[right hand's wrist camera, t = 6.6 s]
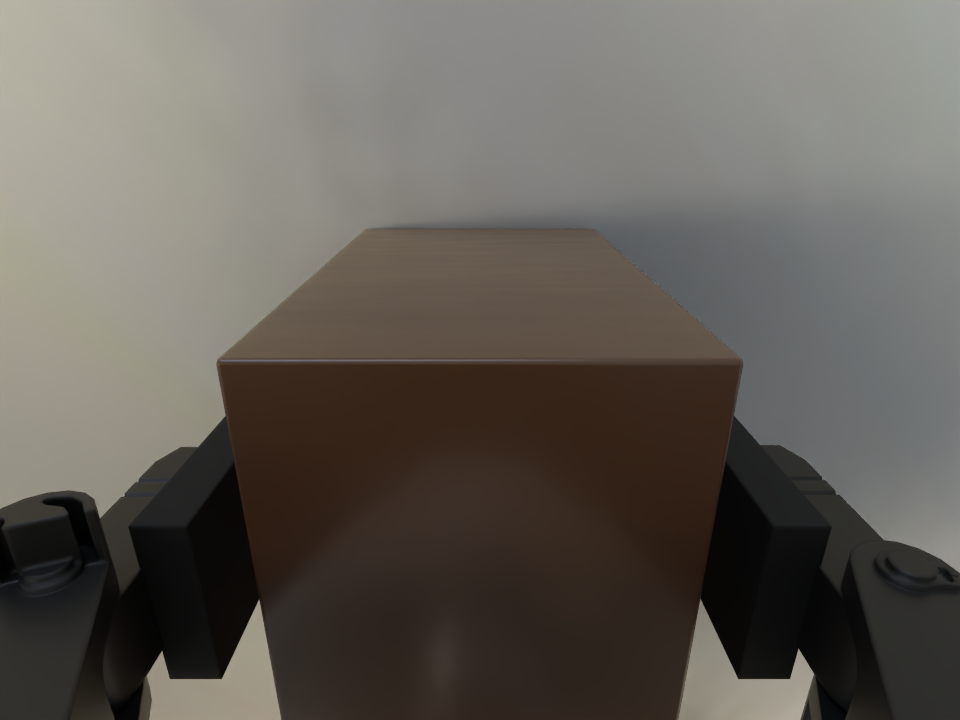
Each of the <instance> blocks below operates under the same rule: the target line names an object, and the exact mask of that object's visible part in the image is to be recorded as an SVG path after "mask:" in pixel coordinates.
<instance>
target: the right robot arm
mask: <svg viewBox="0 0 960 720" xmlns="http://www.w3.org/2000/svg"><path fill="white" fill-rule="evenodd" d="M700 598H701V600H702V602H703V605H704V607H705V609H706V611H707V613H708V615H709V617H710V620H711V622H712V624H713V626H714V628H715V630H716V632H717V634H718V637H719V639H720V641H721V643H722V645H723V647H724V649H725V651H726V654H727V656H728V658H729V660H730V662H731V664H732V666H733V668H734V671H735V673H736V675H737V677H738V679H790V677H791V673H792V670H793V666H794V662H795V659H796V655H797V651H798V648H799V650H800V651H801V653H802V655H803V656H804V658H805V659H806V661H807V663H808V664H809V666H810V668H811V669H812V671H813V673H814V676H813V680H812V683H811V686H810V690H809V693H808V696H807V700H806V703H805V707H804V710H803V713H802V717H801V720H960V573H959V572H957V571H956V570H955V569H953V568H952V567H950V566H949V565H948V564H946V563H945V562H944V561H942V560H941V559H939V558H937V557H935V556H933V555H931V554H929V553H927V552H925V551H923V550H921V549H918V548H915V547H912V546H908V545H905V544H902V543H899V542H894V541H885V540H883V539H882V538H881V537H880V536H879V535H878V534H877V533H876V532H875V531H874V530H873V529H872V528H871V527H870V526H869V525H868V524H867V523H866V522H865V521H864V520H863V519H862V518H861V517H860V516H859V514H858V513H857V512H856V511H855V510H854V509H853V508H852V507H851V506H850V505H849V504H848V503H847V502H846V501H845V500H844V499H843V498H842V497H841V496H840V495H836V491H835V490H834V489H833V488H832V487H831V486H830V485H829V484H828V483H827V482H826V481H825V480H822V477H821V476H820V475H819V474H818V473H817V472H816V471H815V470H814V469H813V468H812V467H811V466H810V465H809V464H808V463H807V462H806V460H804V459H803V458H801V457H799V456H797V455H796V454H794V453H792V452H790V451H789V450H787V449H785V448H783V447H782V446H780V445H759V443H758V442H757V441H756V440H755V439H754V438H753V437H752V436H751V434H750V433H749V432H748V431H747V430H746V429H745V428H744V427H743V425H742V424H741V423H740V422H739V421H738V420H737V419H736V418H735V416H734V417H733V422H732V427H731V433H730V438H729V444H728V449H727V455H726V460H725V466H724V471H723V477H722V482H721V488H720V493H719V499H718V504H717V510H716V515H715V521H714V526H713V532H712V537H711V542H710V548H709V553H708V559H707V564H706V570H705V575H704V581H703V586H702V592H701V597H700ZM258 600H259V594H258V588H257V583H256V577H255V572H254V566H253V561H252V555H251V550H250V545H249V539H248V534H247V528H246V523H245V517H244V512H243V506H242V501H241V495H240V490H239V484H238V479H237V474H236V468H235V463H234V457H233V452H232V446H231V441H230V435H229V430H228V424H227V419H226V416H225V418H224V419H223V420H222V421H221V422H220V423H219V424H218V425H217V427H216V428H215V429H214V430H213V431H212V432H211V433H210V434H209V436H208V437H207V438H206V439H205V440H204V441H203V442H202V443H201V445H200V446H199V447H180V448H179V449H177V450H175V451H173V452H172V453H170V454H168V455H167V456H165V457H163V458H161V459H160V460H158V461H156V462H155V463H154V464H153V465H152V466H151V467H150V468H149V469H148V470H147V471H146V472H145V473H144V474H143V475H142V476H141V477H140V478H139V482H135V483H134V485H133V486H132V487H131V488H130V489H129V490H128V491H127V492H126V493H125V497H121V498H120V499H119V500H118V501H117V502H116V503H115V504H114V505H113V506H112V507H111V508H110V509H109V510H108V511H107V512H106V513H105V514H104V515H103V516H102V517H101V518H100V517H99V514H98V511H97V507H96V504H95V500H94V499H93V498H92V497H90V496H89V495H87V494H86V493H82V492H75V491H60V492H50V493H45V494H41V495H37V496H33V497H30V498H26V499H23V500H20V501H18V502H16V503H13V504H11V505H8V506H6V507H4V508H1V509H0V720H149V717H150V709H151V701H152V699H151V692H150V686H149V683H148V680H147V674H148V672H149V671H150V669H151V668H152V666H153V664H154V663H155V661H156V659H157V658H158V656H159V654H160V653H161V651H163V655H164V659H165V662H166V666H167V670H168V673H169V677H170V679H222V677H223V675H224V673H225V671H226V669H227V666H228V664H229V662H230V660H231V658H232V656H233V654H234V651H235V649H236V647H237V645H238V643H239V641H240V639H241V637H242V634H243V632H244V630H245V628H246V626H247V624H248V622H249V620H250V617H251V615H252V613H253V611H254V609H255V607H256V605H257V603H258Z"/></svg>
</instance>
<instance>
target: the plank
mask: <svg viewBox="0 0 960 720" xmlns="http://www.w3.org/2000/svg"><path fill="white" fill-rule="evenodd" d="M742 367H743V362H742V359H741V358H740V357H739V356H738V355H736V354H735V353H734V352H733V351H732V350H731V349H730V348H728V347H727V346H726V345H725V344H724V343H723V342H722V341H720V340H719V339H718V338H717V337H716V336H715V335H714V334H712V333H711V332H710V331H709V330H708V329H707V328H706V327H705V326H703V325H702V324H701V323H700V322H699V321H698V320H697V319H695V318H694V317H693V316H692V315H691V314H690V313H689V312H687V311H686V310H685V309H684V308H683V307H682V306H681V305H679V304H678V303H677V302H676V301H675V300H674V299H673V298H672V297H670V296H669V295H668V294H667V293H666V292H665V291H664V290H662V289H661V288H660V287H659V286H658V285H657V284H656V283H654V282H653V281H652V280H651V279H650V278H649V277H648V276H646V275H645V274H644V273H643V272H642V271H641V270H640V269H639V268H637V267H636V266H635V265H634V264H633V263H632V262H631V261H629V260H628V259H627V258H626V257H625V256H624V255H623V254H621V253H620V252H619V251H618V250H617V249H616V248H615V247H613V246H612V245H611V244H610V243H609V242H608V241H607V240H606V239H604V238H603V237H602V236H601V235H600V234H599V233H598V232H596V231H595V230H594V229H366V230H364V231H363V232H362V233H361V234H360V235H359V236H358V237H356V238H355V239H354V240H353V241H352V242H351V243H350V244H348V245H347V246H346V247H345V248H344V249H343V250H342V251H341V252H339V253H338V254H337V255H336V256H335V257H334V258H333V259H331V260H330V261H329V262H328V263H327V264H326V265H325V266H323V267H322V268H321V269H320V270H319V271H318V272H317V273H315V274H314V275H313V276H312V277H311V278H310V279H309V280H307V281H306V282H305V283H304V284H303V285H302V286H301V287H300V288H298V289H297V290H296V291H295V292H294V293H293V294H292V295H290V296H289V297H288V298H287V299H286V300H285V301H284V302H282V303H281V304H280V305H279V306H278V307H277V308H276V309H274V310H273V311H272V312H271V313H270V314H269V315H268V316H266V317H265V318H264V319H263V320H262V321H261V322H260V323H259V324H257V325H256V326H255V327H254V328H253V329H252V330H251V331H249V332H248V333H247V334H246V335H245V336H244V337H243V338H241V339H240V340H239V341H238V342H237V343H236V344H235V345H233V346H232V347H231V348H230V349H229V350H228V351H227V352H226V353H224V354H223V355H222V356H221V357H220V358H219V359H218V360H217V370H218V375H219V381H220V386H221V392H222V397H223V402H224V408H225V413H226V419H227V424H228V430H229V435H230V441H231V446H232V452H233V457H234V463H235V468H236V474H237V479H238V484H239V490H240V495H241V501H242V506H243V512H244V517H245V523H246V528H247V534H248V539H249V545H250V550H251V555H252V561H253V566H254V572H255V577H256V583H257V588H258V594H259V599H260V605H261V610H262V616H263V621H264V627H265V632H266V637H267V643H268V648H269V654H270V659H271V665H272V670H273V676H274V681H275V687H276V692H277V698H278V703H279V708H280V714H281V719H282V720H678V718H679V712H680V707H681V701H682V696H683V690H684V685H685V679H686V674H687V668H688V663H689V657H690V652H691V647H692V641H693V636H694V630H695V625H696V619H697V614H698V608H699V603H700V597H701V592H702V586H703V581H704V575H705V570H706V564H707V559H708V553H709V548H710V542H711V537H712V532H713V526H714V521H715V515H716V510H717V504H718V499H719V493H720V488H721V482H722V477H723V471H724V466H725V460H726V455H727V449H728V444H729V438H730V433H731V427H732V422H733V417H734V411H735V406H736V400H737V395H738V389H739V384H740V378H741V373H742Z"/></svg>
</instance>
